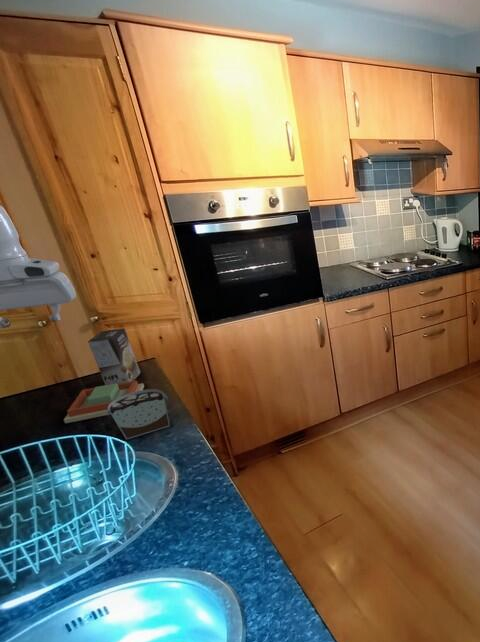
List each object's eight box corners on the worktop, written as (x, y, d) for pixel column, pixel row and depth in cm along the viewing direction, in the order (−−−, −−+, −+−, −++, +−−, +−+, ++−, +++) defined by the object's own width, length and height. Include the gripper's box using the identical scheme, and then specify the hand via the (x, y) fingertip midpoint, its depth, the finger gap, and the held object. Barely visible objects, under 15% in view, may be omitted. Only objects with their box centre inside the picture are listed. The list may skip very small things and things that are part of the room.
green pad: (91, 408, 127) (87, 399, 126) (99, 395, 134) (95, 386, 133) (113, 404, 129) (109, 395, 128) (120, 391, 136) (116, 383, 135)
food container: (174, 414, 127) (163, 383, 123) (176, 424, 123) (165, 392, 119) (118, 430, 120) (104, 398, 116) (118, 441, 115) (104, 408, 111)
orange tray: (65, 423, 123) (60, 414, 122) (82, 397, 135) (79, 389, 134) (133, 409, 129) (129, 400, 128) (144, 386, 141) (141, 378, 140)
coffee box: (131, 385, 142) (113, 339, 135) (106, 389, 140) (86, 342, 133) (141, 372, 150) (124, 327, 143) (117, 375, 148) (100, 330, 141)
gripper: (-65, 278, 99) (-34, 335, 105) (57, 267, 108) (79, 321, 113) (-49, 271, 104) (-21, 326, 110) (66, 261, 113) (87, 313, 118)
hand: (31, 323), depth 112 cm, fingers open, 8 cm apart
